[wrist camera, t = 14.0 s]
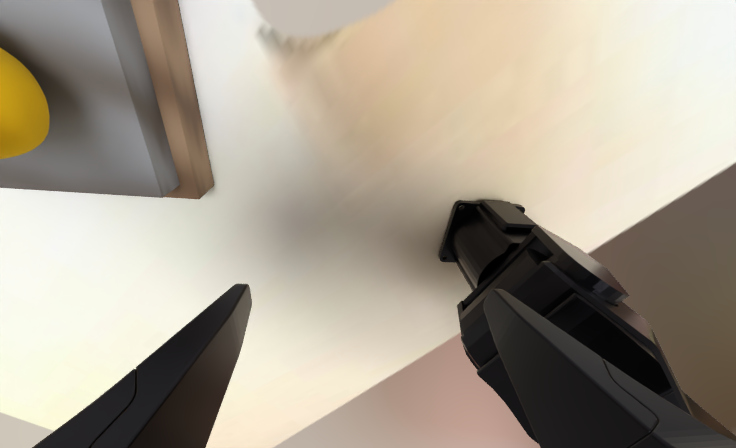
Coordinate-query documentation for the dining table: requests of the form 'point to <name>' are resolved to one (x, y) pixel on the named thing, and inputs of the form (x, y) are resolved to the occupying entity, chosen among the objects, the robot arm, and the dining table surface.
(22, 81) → the duckling
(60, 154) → the metal-topped wooden square
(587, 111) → the dining table surface
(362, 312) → the dining table surface
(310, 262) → the dining table surface
